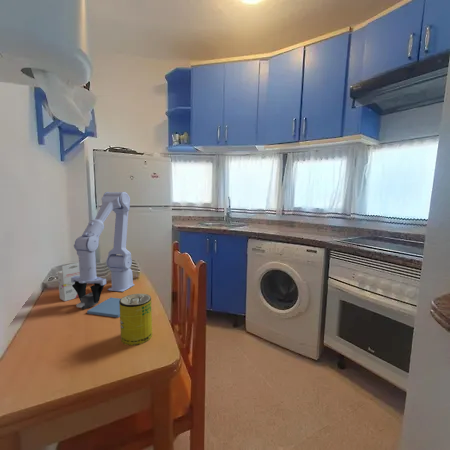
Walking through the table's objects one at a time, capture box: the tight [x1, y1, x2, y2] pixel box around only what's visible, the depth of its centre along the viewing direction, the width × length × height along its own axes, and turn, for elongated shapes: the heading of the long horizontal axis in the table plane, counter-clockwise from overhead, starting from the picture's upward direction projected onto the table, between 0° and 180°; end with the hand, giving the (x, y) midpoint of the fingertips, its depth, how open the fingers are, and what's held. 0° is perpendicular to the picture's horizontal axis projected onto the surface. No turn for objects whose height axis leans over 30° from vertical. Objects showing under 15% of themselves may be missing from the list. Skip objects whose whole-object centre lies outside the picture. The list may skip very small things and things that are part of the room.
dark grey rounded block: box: [75, 291, 99, 310], centre depth 102 cm, size 9×3×4 cm, turn 166°
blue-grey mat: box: [86, 297, 121, 319], centre depth 101 cm, size 13×13×1 cm
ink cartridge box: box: [57, 262, 80, 302], centre depth 111 cm, size 9×5×15 cm, turn 143°
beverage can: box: [119, 293, 153, 346], centre depth 80 cm, size 9×9×12 cm
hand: (89, 301), depth 103 cm, fingers open, 6 cm apart
